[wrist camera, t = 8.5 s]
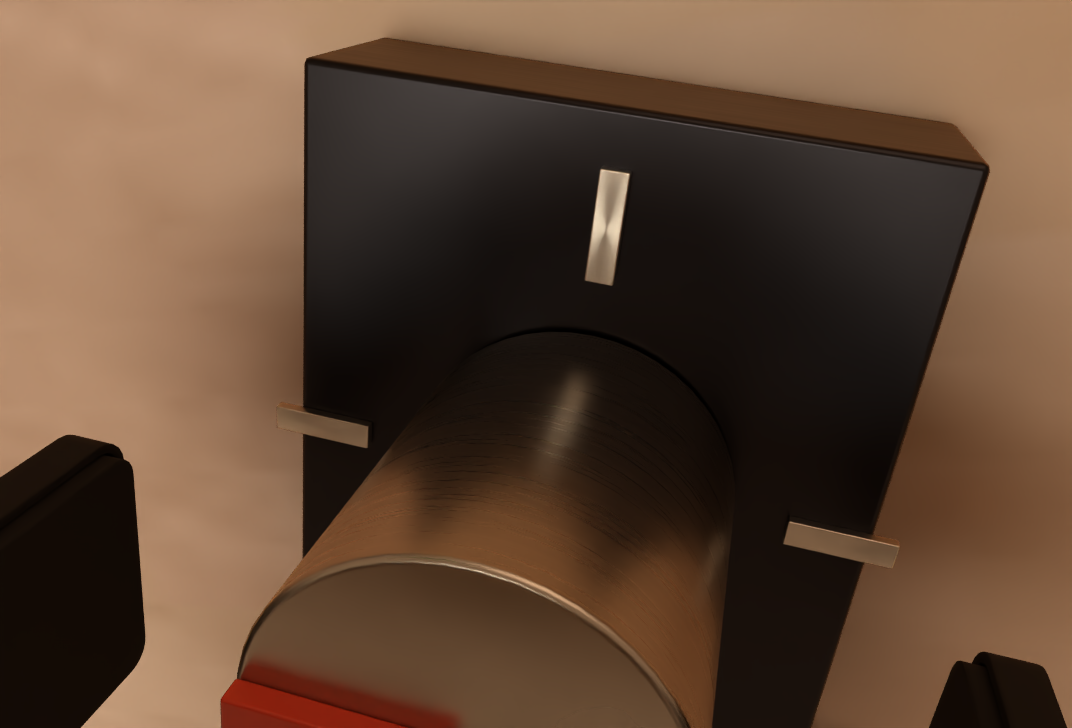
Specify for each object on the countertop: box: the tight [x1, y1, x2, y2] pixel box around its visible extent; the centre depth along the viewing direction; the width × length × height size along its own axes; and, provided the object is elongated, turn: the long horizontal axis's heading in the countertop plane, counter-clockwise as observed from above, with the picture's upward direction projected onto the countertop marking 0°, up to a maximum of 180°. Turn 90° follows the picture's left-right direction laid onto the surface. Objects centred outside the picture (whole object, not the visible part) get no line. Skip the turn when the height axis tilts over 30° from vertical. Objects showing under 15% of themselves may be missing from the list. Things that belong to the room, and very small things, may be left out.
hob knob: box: [221, 332, 735, 728], centre depth 11 cm, size 4×4×5 cm
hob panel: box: [277, 38, 990, 728], centre depth 14 cm, size 10×9×3 cm
